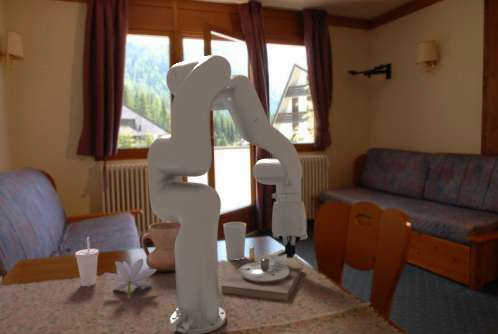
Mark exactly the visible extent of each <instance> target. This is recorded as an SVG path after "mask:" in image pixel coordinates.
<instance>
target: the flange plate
mask: <svg viewBox="0 0 498 334" xmlns="http://www.w3.org/2000/svg"><path fill="white" fill-rule="evenodd" d="M286 260H287V254H285V249H283V248H281V249H280V250H278V251H275V252H273V253H272V254H270V261H269V269H267V270H263V269H261V262H254V263H249V264H247V265H244V264H243V265H244V266H243V267H242V268H241V277H242V278H243V279H244V280H246V281H249V282H253V283H261V284H269V283H277V282H281V281H283V280H285V279H287V278H288V277H289V268H288V267H287V266H286V265H284V264H285V263H284V264H281V263H283V262H285V261H286Z"/></svg>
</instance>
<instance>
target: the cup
mask: <svg viewBox="0 0 498 334" xmlns="http://www.w3.org/2000/svg"><path fill="white" fill-rule="evenodd" d="M246 232H247V223H246V222H241V221H230V222H226V223H223V234H224V242H225V250H226V251H225V252H226V257H225V258H226V260H227V259H229V260H228V261H230V260H235V259H242V258H244V259H245V251H246V249H245V248H246Z"/></svg>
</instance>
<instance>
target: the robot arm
mask: <svg viewBox="0 0 498 334" xmlns="http://www.w3.org/2000/svg"><path fill="white" fill-rule="evenodd" d="M165 77H166V78H165V80H166V86H167V88H168V90H169V91H170V93H171V94H172V95H173V96H174V97H173V100H172V103H171V107H170V109H171V110H170V134H166V135H165V134H164V135H162V136H159V137H157V138H156V139H154V141H152V143H151V145H150V146H149V149H148V152H147V158H146V162H147V163H146V164H147V165H146V167H147V178H148V179H147V180H148V191H149V192H148V193H149V194H148V195H149V203H150V207H151V210H152V212H153V213H154V215H155V216H156V217H157V218H158V219H160V220H162V221H164V222H175V223H179V224H181V227H180V230H179V232H178V235H177V237H176V241H175V270H176V271H175V295H176V296H175V297H176V309H175V311H174V312H173V313H172V314H171V315H170V317H169V324H168V325H167V326H168V327H167V328H168V330H169V331H170V332H171V333H172V332H173V333H174V332H175V333H176V332H178V333H182V334H206V333H211V332H213V331H215V330H218V329H219V328H221V327H222V326H223V325H224V324H225V322H226V321H227V315H226V314H227V313H226V311H225V310H224V309H223V308H222V307H220V302H219V301H220V300H219V299H220V297H219V296H220V295H219V292H220V291H219V261H218V260H219V257H218V256H219V255H218V228H219V223H220V222H219V220H220V215H221V208H222V207H221V206H222V201H221V197H220V195H219V192H217V190H216V189H215V188H213V187H212V186H210V185H208V184H206V183H201V182H193V181H191V182H190V181H183V178H184V177H186V178H188V177H189V178H190V177H193V178H194V177H201V176H202V177H203V176H204V175H206V174H207V173H208V172H209V170H210V169H211V165H212V139H211V111H213V112H214V111H215V112H216V111H217V112H218V111H227V112H228V113H229V115H230V117H231V120H232V122H233V124H234V126H235V128H236V130H237V131H238V134H239V135H240V137H241V139H242V140H243V141H245V142H247V143H249V144H251V145H253V146H254V147H255V146H256V147H258V148H260V149H263V150H265V151H266V152H268V153H270V154H271V155H273V157H274V158H267V157H266V158H263V159H260V160H258V161H257V162H256V163H254V166H253V168H252V175H253V177H254V179H255V180H256V181H257V182H258V183H260V184H262V185H271V186H276V189H275V190H276V191H275V192H274V193H272V194H271V198H272V199H275V201H274V202H273V206H272V216H271V217H272V220H271V232H272V237H273V238H276V239H279V240H280V241H281V242H282V243H283V245H284V250H285V254H286V259H289V258H290V259H293V257H294V256H295V255H296V252H297V251H296V249H297V247H296V245H297V243H298V242H299V241H303V240H307V238H308V237H309V236H308V233H307V230H308V222H307V214H306V208H305V207H306V206H305V203H304V201H302V177H303V165H302V162H301V160H300V157H299V155H298V154H299V153H298V151H297V149H296V147H295V145H294V143H292V142H291V140H290V139H289V138H288V137H286V136H285V135H284V134H283V133H282V132H281V131H279V129H277V128H276V127H275V126H273V125H271V123H270V122H269V119H268V116H267V114H266V112H265V109H264V107H263V105H262V103H261V100H260V98H259V95H258V92H257V91H256V87H255V86H254V83H253V82H252V80H251V79H250V78H249V77H248V76H246V75H244V74H233V75H232V67H231V63H230V62H229V60H228V59H227V58H226V57H224V56H222V55H214V54H213V55H207V56H202V57H197V58H193V59H190V60H185V61H181V62H179V63H176V64H173V65H172V66H171V67H169V69H168V70H167V73H166V76H165ZM290 237H291V240H290Z"/></svg>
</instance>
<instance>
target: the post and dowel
mask: <svg viewBox="0 0 498 334" xmlns="http://www.w3.org/2000/svg"><path fill="white" fill-rule="evenodd" d="M248 250H249V253H248V254H249V260H250V263H254V262H255V261H256V260H255V259H256V257H255V255H256V254H255V250H256V249H255V247H254V246H249V249H248ZM260 261H261V269H263V270H267V269H269V262H270V259H269V258H267V257H264V258H260Z"/></svg>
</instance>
